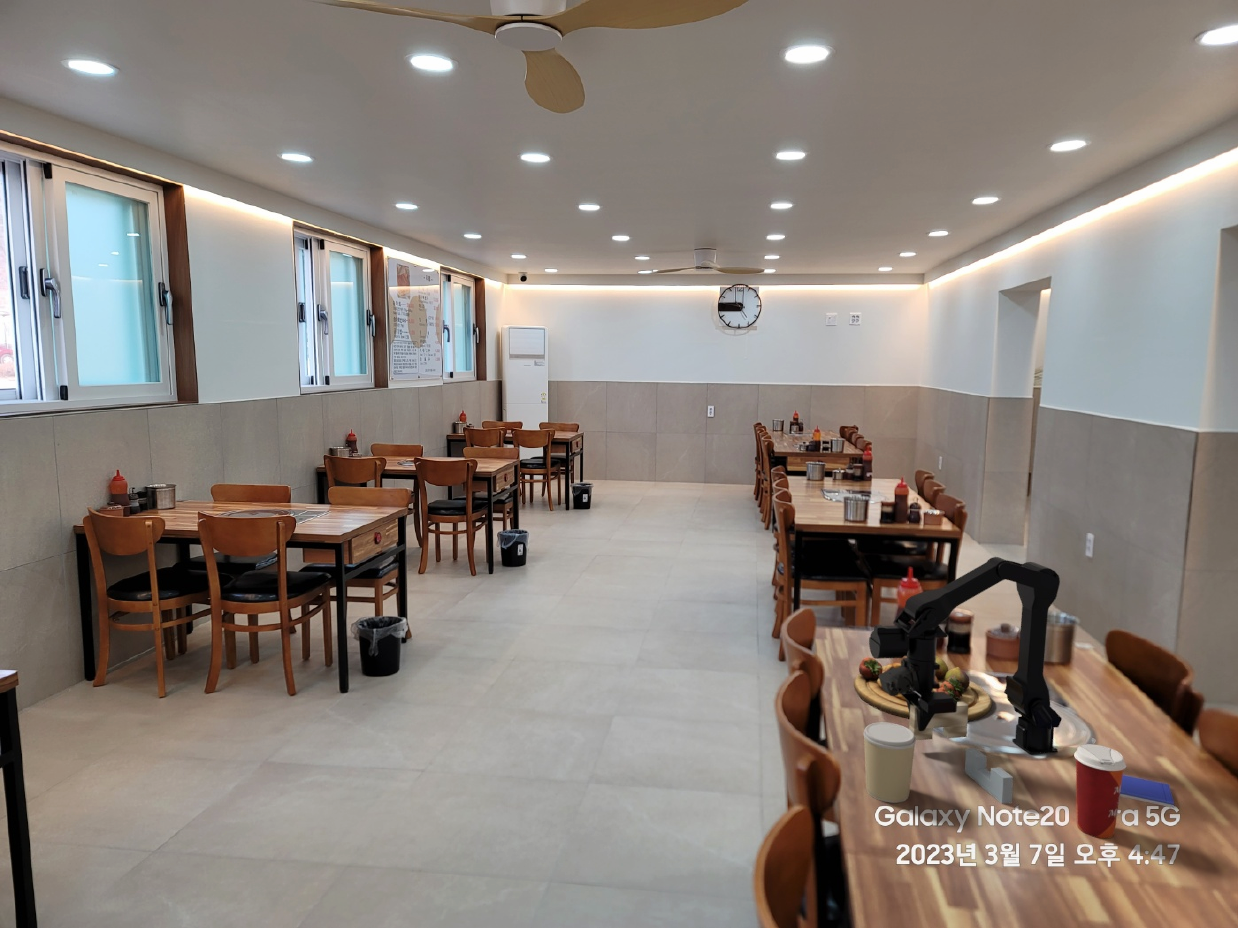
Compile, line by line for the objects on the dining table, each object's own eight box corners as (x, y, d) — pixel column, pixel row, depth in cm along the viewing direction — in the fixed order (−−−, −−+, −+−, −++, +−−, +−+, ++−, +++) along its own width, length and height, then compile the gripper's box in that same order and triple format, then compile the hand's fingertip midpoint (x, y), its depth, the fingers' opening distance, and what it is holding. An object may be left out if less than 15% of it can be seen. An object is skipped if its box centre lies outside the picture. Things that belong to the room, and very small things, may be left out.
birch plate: (961, 732, 170) (962, 701, 169) (966, 736, 168) (968, 705, 167) (908, 735, 168) (910, 704, 167) (913, 740, 166) (915, 708, 165)
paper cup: (1129, 844, 134) (1134, 765, 132) (1079, 839, 135) (1084, 760, 134) (1110, 819, 141) (1115, 744, 140) (1063, 814, 143) (1067, 740, 141)
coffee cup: (922, 792, 151) (924, 731, 150) (899, 810, 144) (901, 747, 143) (876, 774, 157) (878, 717, 156) (852, 791, 151) (854, 731, 150)
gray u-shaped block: (974, 771, 159) (975, 747, 158) (1011, 802, 147) (1013, 777, 146) (964, 772, 158) (965, 748, 158) (1001, 803, 147) (1003, 777, 146)
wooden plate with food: (828, 695, 198) (830, 663, 197) (892, 663, 220) (894, 634, 219) (954, 739, 175) (956, 704, 174) (1012, 699, 196) (1014, 667, 195)
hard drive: (1095, 785, 151) (1174, 802, 145) (1093, 767, 158) (1168, 782, 152) (1094, 793, 151) (1173, 810, 145) (1093, 774, 158) (1168, 790, 152)
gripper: (864, 644, 174) (862, 712, 175) (907, 675, 155) (904, 751, 157) (912, 641, 175) (909, 709, 177) (960, 672, 157) (956, 747, 158)
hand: (918, 728), depth 167 cm, fingers closed on birch plate, 2 cm apart
